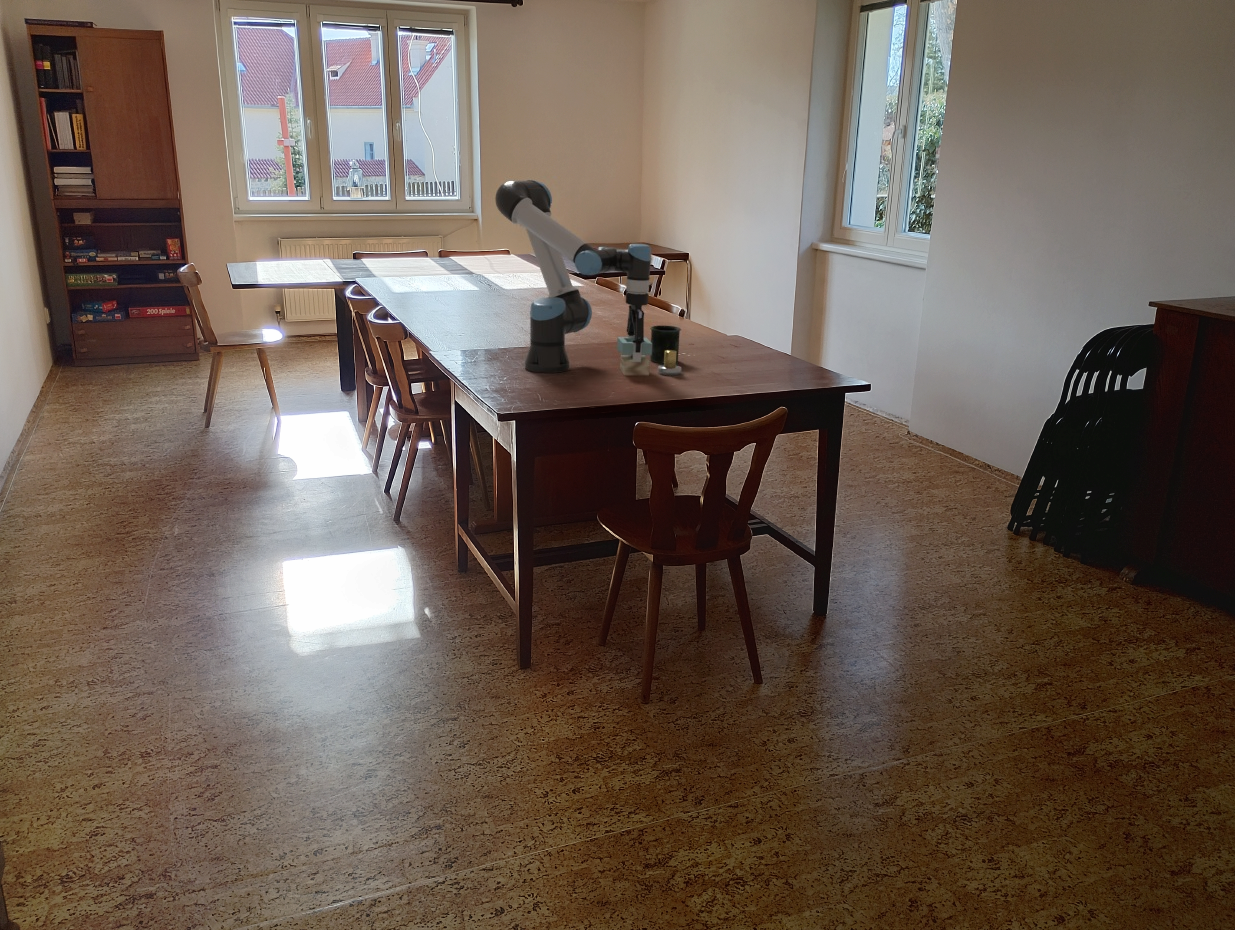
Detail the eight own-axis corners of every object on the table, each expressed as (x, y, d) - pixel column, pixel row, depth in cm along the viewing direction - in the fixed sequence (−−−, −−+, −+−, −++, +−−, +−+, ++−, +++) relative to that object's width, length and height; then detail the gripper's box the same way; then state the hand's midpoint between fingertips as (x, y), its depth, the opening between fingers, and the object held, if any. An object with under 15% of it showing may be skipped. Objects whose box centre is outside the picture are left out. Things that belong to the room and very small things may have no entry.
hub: (660, 375, 317) (661, 353, 315) (655, 370, 325) (656, 349, 323) (683, 375, 319) (684, 353, 316) (678, 370, 326) (679, 348, 324)
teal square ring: (622, 354, 313) (622, 343, 312) (616, 348, 322) (617, 337, 321) (651, 355, 315) (652, 343, 314) (645, 349, 324) (646, 337, 323)
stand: (624, 375, 316) (625, 353, 314) (620, 369, 324) (620, 348, 322) (649, 375, 318) (650, 353, 315) (644, 369, 325) (644, 348, 323)
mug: (658, 365, 333) (659, 331, 330) (639, 357, 346) (640, 324, 342) (684, 363, 338) (686, 330, 334) (665, 355, 350) (666, 323, 347)
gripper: (655, 297, 302) (651, 365, 310) (641, 287, 323) (638, 351, 331) (632, 297, 301) (628, 365, 308) (620, 286, 322) (617, 350, 329)
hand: (633, 358), depth 319 cm, fingers closed on teal square ring, 10 cm apart
